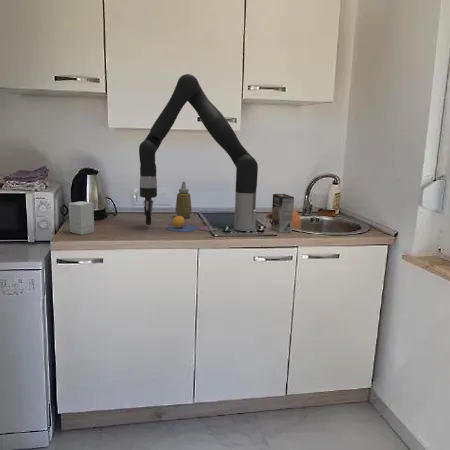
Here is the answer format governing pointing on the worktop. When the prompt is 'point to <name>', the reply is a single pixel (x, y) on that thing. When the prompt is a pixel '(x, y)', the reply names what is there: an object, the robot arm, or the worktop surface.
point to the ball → (178, 221)
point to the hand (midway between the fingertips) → (148, 224)
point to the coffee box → (282, 212)
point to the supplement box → (81, 217)
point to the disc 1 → (184, 229)
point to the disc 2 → (203, 228)
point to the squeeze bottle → (183, 202)
